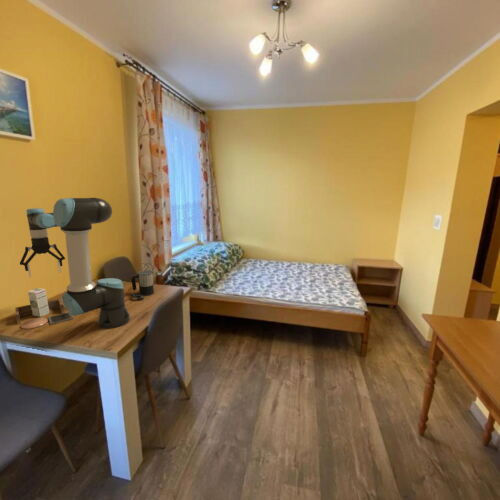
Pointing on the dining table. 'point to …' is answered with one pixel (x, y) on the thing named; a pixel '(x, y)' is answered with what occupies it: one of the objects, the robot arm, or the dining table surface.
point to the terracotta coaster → (34, 323)
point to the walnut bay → (27, 310)
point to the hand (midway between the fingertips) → (45, 274)
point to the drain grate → (60, 318)
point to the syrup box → (38, 302)
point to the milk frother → (143, 284)
